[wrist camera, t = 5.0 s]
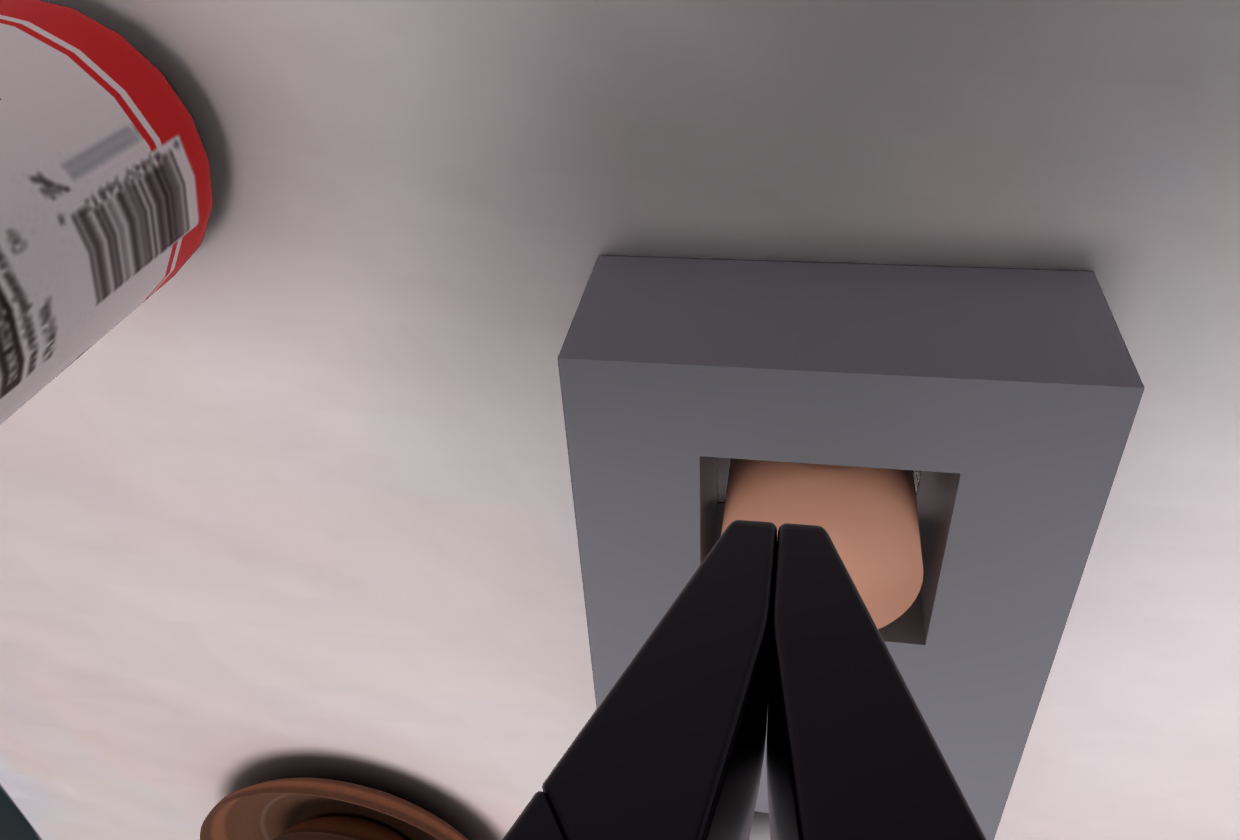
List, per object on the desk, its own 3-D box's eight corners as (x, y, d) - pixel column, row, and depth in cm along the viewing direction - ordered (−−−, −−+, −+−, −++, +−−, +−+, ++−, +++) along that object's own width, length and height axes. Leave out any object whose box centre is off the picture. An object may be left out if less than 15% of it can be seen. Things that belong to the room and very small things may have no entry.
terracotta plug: (923, 393, 20) (937, 505, 18) (900, 531, 23) (909, 648, 20) (732, 384, 21) (718, 489, 18) (730, 518, 24) (716, 629, 21)
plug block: (1093, 271, 19) (1144, 387, 16) (939, 838, 32) (951, 965, 29) (598, 255, 21) (557, 358, 18) (639, 800, 34) (620, 916, 30)
